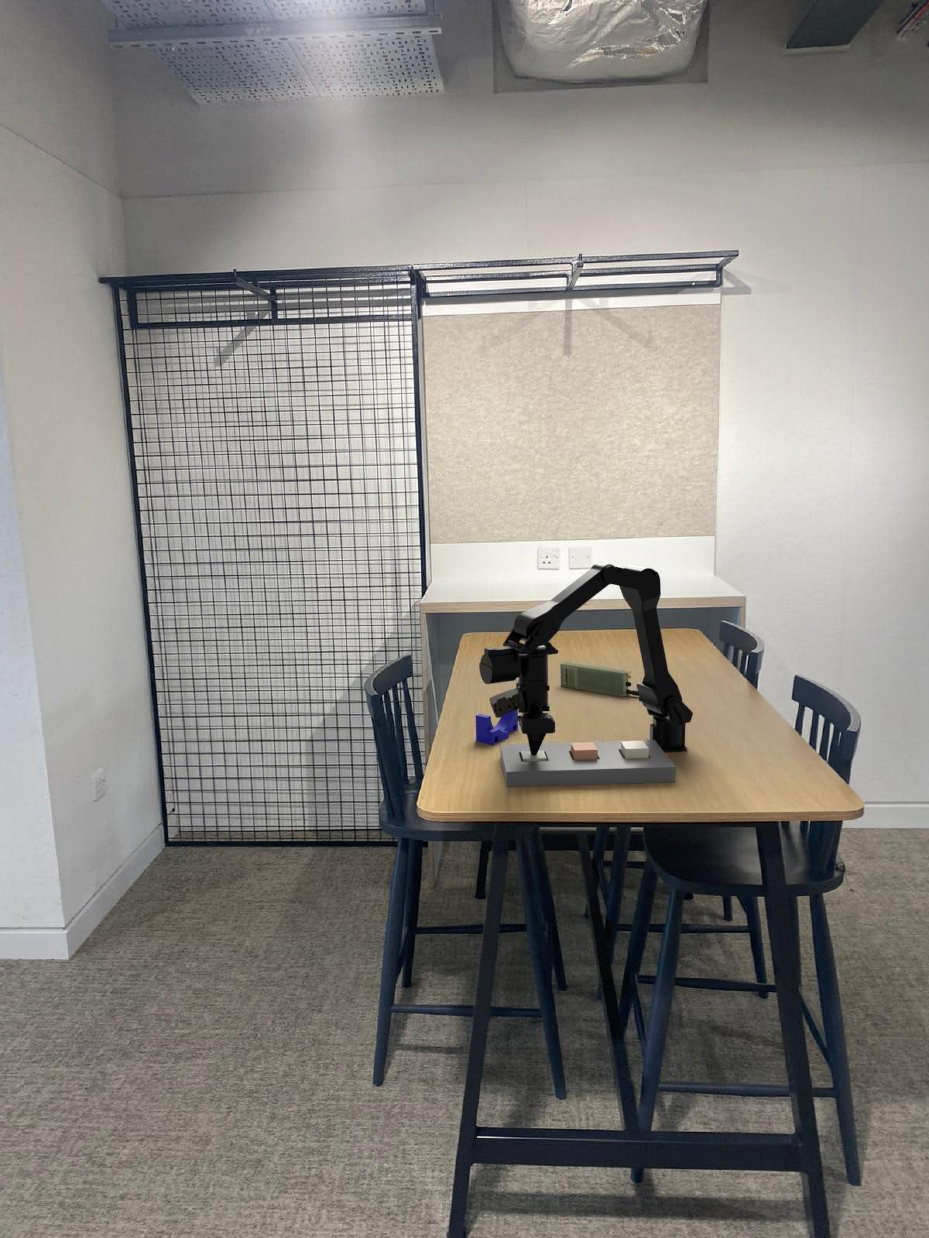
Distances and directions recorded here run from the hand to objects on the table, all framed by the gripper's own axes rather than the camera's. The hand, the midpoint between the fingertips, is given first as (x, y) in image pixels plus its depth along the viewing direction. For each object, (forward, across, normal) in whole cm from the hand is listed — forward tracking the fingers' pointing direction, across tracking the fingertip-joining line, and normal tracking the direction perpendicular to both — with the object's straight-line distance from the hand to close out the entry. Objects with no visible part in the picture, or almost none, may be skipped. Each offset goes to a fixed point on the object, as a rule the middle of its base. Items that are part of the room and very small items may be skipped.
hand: (533, 754), depth 170 cm
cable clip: (+4, -23, -5) cm, 23 cm away
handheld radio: (+4, -57, +25) cm, 62 cm away
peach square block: (+1, 0, +10) cm, 10 cm away
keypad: (+3, 0, +10) cm, 11 cm away
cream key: (+1, 0, +20) cm, 20 cm away
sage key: (+2, 0, 0) cm, 2 cm away
